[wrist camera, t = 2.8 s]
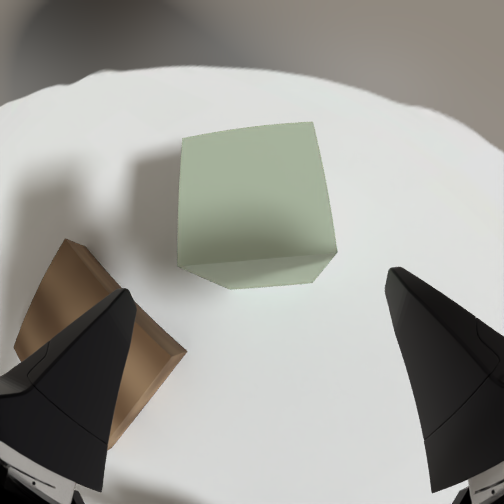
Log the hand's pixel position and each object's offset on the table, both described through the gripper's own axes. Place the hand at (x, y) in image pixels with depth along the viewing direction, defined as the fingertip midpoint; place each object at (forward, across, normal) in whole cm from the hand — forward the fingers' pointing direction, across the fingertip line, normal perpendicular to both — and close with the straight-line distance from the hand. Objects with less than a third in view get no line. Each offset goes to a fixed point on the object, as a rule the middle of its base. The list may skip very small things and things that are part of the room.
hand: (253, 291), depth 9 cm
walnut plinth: (+5, +16, +11) cm, 20 cm away
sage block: (+11, 0, +5) cm, 12 cm away
